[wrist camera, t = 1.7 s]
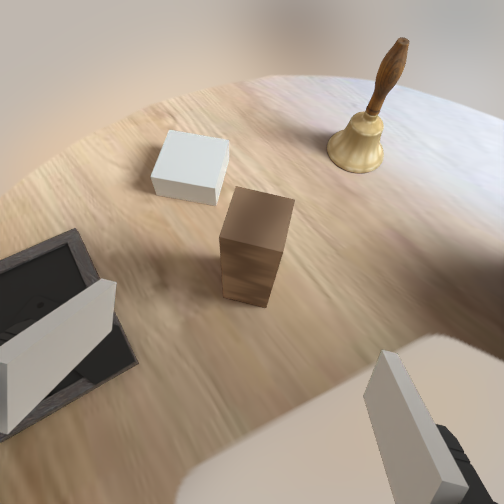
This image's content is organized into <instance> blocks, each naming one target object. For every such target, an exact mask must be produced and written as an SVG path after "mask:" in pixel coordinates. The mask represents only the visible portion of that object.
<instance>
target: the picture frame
mask: <svg viewBox="0 0 504 504" xmlns="http://www.w3.org/2000/svg"><path fill="white" fill-rule="evenodd" d="M99 280H100V278H99V276H98V273H97V271H96V269H95V267H94V265H93V262H92V260H91V258H90V256H89V254H88V252H87V249H86V247H85V245H84V243H83V241H82V238H81V236H80V234H79V232H78V231H77V230H76V228H74V229H71V230H69V231H67V232H64V233H62V234H60V235H58V236H55V237H53V238H51V239H48V240H46V241H44V242H42V243H39V244H37V245H35V246H32V247H30V248H28V249H26V250H23V251H21V252H19V253H16V254H14V255H12V256H9V257H7V258H5V259H3V260H0V334H1V333H4V331H5V330H7V329H9V328H10V327H12V326H13V325H15V324H17V323H20V322H23V321H26V320H29V319H32V320H36V321H39V320H40V319H42V318H43V317H45V316H46V315H48V314H49V313H51V312H52V311H54V310H55V309H57V308H58V307H60V306H61V305H63V304H64V303H66V302H67V301H69V300H70V299H72V298H73V297H75V296H76V295H78V294H79V293H81V292H82V291H84V290H85V289H87V288H88V287H90V286H91V285H93V284H94V283H96V282H97V281H99ZM137 364H139V363H138V361H137V359H136V356H135V354H134V352H133V350H132V348H131V346H130V343H129V341H128V339H127V337H126V335H125V332H124V330H123V328H122V326H121V324H120V321H119V319H118V317H117V315H116V313H115V311H114V312H113V322H112V331H111V332H110V333H109V334H108V335H107V336H106V337H105V338H104V339H103V340H102V341H101V342H100V343H99V344H98V345H97V346H96V347H95V348H94V349H93V350H92V351H91V352H90V353H89V354H88V355H87V356H86V357H85V358H84V359H83V360H82V361H81V362H80V363H79V364H78V365H77V366H76V367H75V368H74V369H73V370H72V371H71V372H70V373H69V374H68V375H67V376H66V377H65V378H64V379H63V380H62V381H61V382H60V383H59V384H58V385H57V386H56V387H55V388H54V389H53V390H52V391H51V392H50V393H49V394H48V395H47V396H46V397H45V398H44V399H43V400H42V401H41V402H40V403H39V404H38V405H37V406H36V407H35V408H34V409H33V410H32V411H31V412H30V413H29V414H28V415H27V416H26V417H25V418H24V419H23V420H22V421H21V422H20V423H19V424H18V425H17V426H16V427H15V428H14V429H13V430H12V431H11V432H10V433H9V434H4V433H0V443H1V442H4V441H5V440H7V439H9V438H10V437H12V436H14V435H16V434H17V433H19V432H21V431H23V430H24V429H26V428H28V427H30V426H31V425H33V424H35V423H36V422H38V421H40V420H42V419H43V418H45V417H47V416H49V415H50V414H52V413H54V412H56V411H57V410H59V409H61V408H62V407H64V406H66V405H68V404H69V403H71V402H73V401H75V400H76V399H78V398H80V397H81V396H83V395H85V394H87V393H88V392H90V391H92V390H94V389H95V388H97V387H99V386H101V385H102V384H104V383H106V382H107V381H109V380H111V379H113V378H114V377H116V376H118V375H120V374H121V373H123V372H125V371H127V370H128V369H130V368H132V367H133V366H135V365H137Z"/></svg>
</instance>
